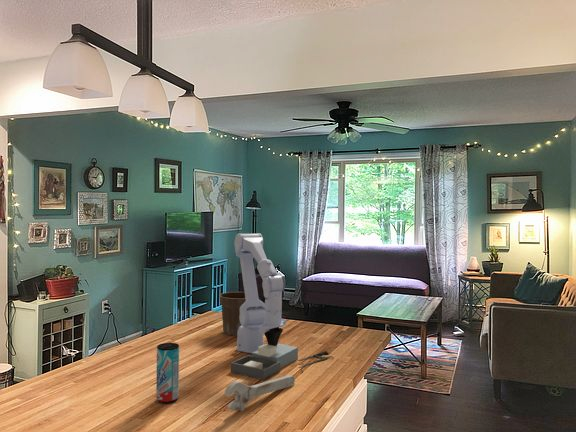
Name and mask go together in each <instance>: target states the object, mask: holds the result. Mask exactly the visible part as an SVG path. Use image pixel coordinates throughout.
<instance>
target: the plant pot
mask: <svg viewBox="0 0 576 432" xmlns="http://www.w3.org/2000/svg"><path fill="white" fill-rule="evenodd" d="M218 296H219V299H220V306H221V318H222V332H223V334H225V335H229V336H234V337H235V336H236V337H237V332H238V329H239V327H240V326H241V323H240V319H239V316H240V307H241V305H242V304H243V303H244V302H245V301H246V299H245V292H244V291H227V292H222V293H220V294H219V295H218ZM246 310H248V309H246Z"/></svg>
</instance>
